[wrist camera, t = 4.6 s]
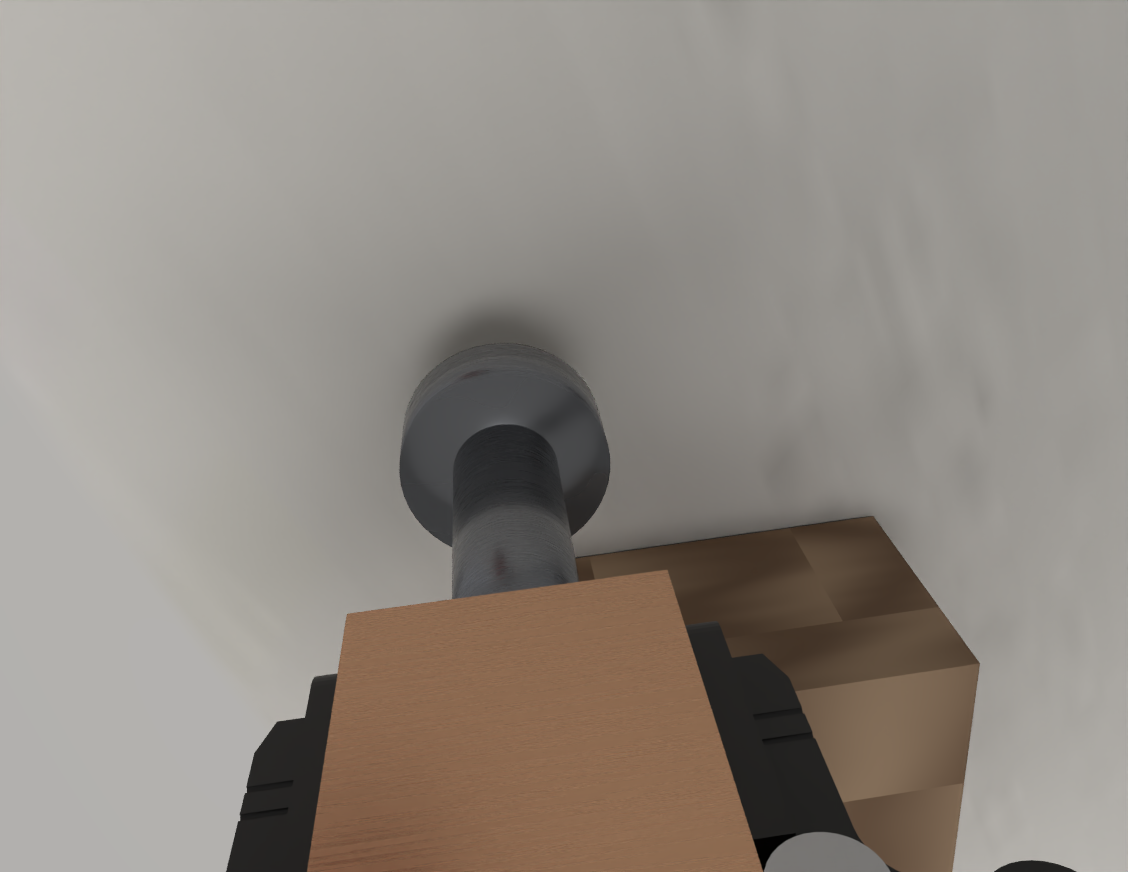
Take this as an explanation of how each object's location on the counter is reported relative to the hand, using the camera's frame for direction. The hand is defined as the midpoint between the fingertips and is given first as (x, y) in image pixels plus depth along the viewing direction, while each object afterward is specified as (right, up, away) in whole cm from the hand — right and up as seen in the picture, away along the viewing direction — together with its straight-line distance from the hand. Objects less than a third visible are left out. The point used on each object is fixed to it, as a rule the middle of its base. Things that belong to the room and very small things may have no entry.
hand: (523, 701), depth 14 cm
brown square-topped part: (-1, +4, +7) cm, 8 cm away
